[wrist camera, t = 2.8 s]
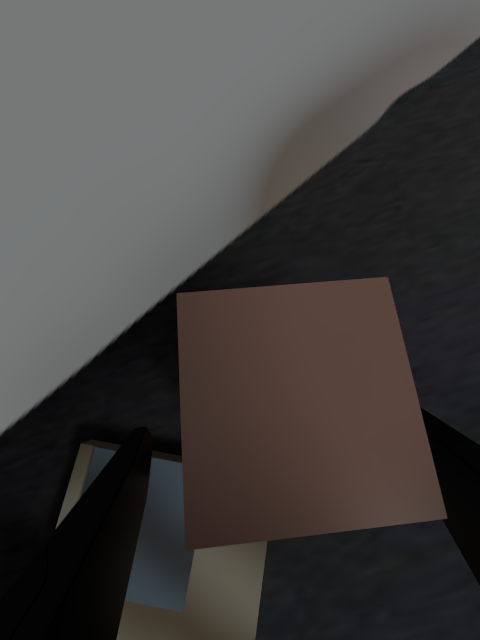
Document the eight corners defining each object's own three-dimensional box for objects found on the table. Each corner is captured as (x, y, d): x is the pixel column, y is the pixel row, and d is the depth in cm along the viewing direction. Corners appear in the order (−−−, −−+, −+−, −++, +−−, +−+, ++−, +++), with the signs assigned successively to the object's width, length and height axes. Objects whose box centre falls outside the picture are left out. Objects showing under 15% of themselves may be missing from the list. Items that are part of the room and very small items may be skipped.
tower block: (294, 422, 18) (447, 518, 5) (220, 430, 17) (185, 551, 5) (284, 349, 19) (387, 276, 6) (215, 355, 19) (176, 292, 6)
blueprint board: (227, 827, 13) (226, 880, 11) (-7, 777, 13) (-35, 823, 12) (271, 472, 17) (275, 480, 15) (91, 439, 17) (79, 444, 16)
